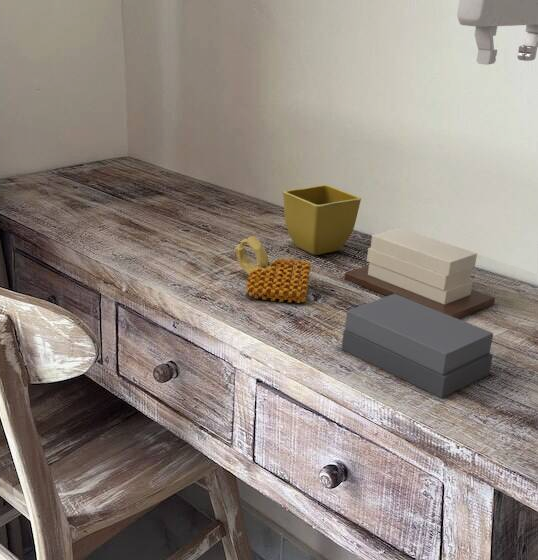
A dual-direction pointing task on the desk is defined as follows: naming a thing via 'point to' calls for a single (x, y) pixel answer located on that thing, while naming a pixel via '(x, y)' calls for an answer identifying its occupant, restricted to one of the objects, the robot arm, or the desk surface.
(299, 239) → the flower pot
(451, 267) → the cream book
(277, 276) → the ornament
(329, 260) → the desk surface
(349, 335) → the grey stack
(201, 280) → the desk surface
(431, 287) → the cream stack
